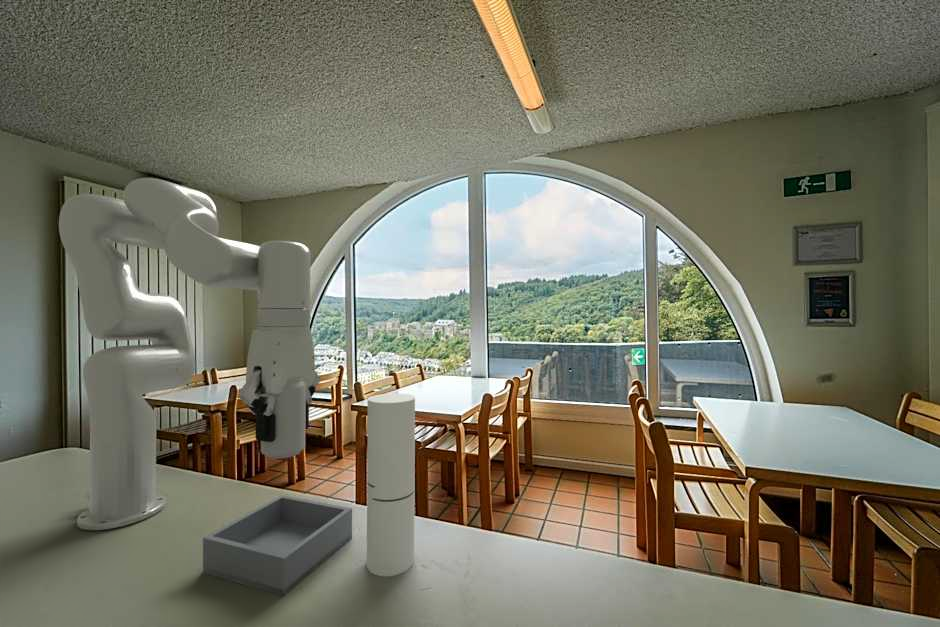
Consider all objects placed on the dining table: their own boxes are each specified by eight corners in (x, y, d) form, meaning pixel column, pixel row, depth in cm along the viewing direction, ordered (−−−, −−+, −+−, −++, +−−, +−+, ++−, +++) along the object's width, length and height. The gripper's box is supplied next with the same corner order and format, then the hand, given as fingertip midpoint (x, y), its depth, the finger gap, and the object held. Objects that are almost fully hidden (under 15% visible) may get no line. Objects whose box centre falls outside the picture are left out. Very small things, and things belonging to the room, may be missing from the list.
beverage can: (288, 461, 60) (289, 381, 60) (250, 458, 61) (251, 379, 61) (313, 448, 66) (314, 375, 66) (278, 445, 67) (279, 373, 67)
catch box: (202, 572, 59) (203, 537, 59) (281, 522, 73) (282, 495, 73) (284, 596, 54) (284, 558, 54) (351, 538, 68) (352, 508, 68)
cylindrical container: (396, 542, 67) (397, 391, 67) (423, 561, 62) (424, 398, 62) (357, 561, 62) (358, 397, 62) (383, 583, 57) (384, 405, 57)
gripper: (304, 320, 73) (303, 419, 73) (216, 320, 57) (215, 448, 57) (339, 320, 71) (338, 422, 71) (257, 321, 54) (256, 454, 54)
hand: (283, 433), depth 64 cm, fingers closed on beverage can, 6 cm apart
